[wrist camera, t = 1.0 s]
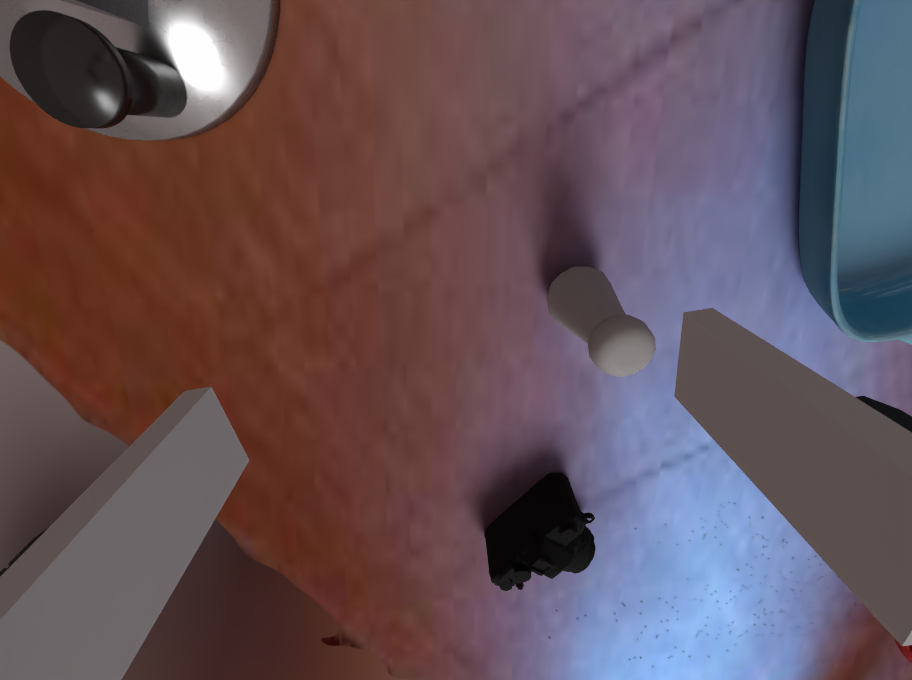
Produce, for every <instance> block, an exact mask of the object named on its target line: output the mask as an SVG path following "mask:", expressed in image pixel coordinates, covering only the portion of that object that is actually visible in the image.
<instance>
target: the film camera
mask: <svg viewBox="0 0 912 680" xmlns="http://www.w3.org/2000/svg"><path fill="white" fill-rule="evenodd" d="M587 518H591V519H592V520H590V521H589V520H587ZM594 519H595V518H594V515H593V514H592V513H582V512H581V510H580V508H579V506H578V504H577V501H576V499H575V496H574V493H573V491H572V488H571V485H570V482H569V480H568V478H567V477H566V476H565V475H563V474H561V473H550V474H548V475H547V476H546V477H544V478H543V479H542V480H540V481H539V482H538V483H537V484H535V485H534V486H533V487H532V488H531V489H530V490H529V491H527V492H526V493H525V494H524V495H523V496H522V497H520V498H519V499H518V500H517V501H516V502H515V503H513V504H512V505H511V506H510V507H509V508H508V509H507V510H506V511H504V512H503V513H502V514H501V515H500V516H499V517H498V518H497V519H496V520H495V521H494V522H493V523H491V524H490V525H489V526H488V528H487V529H486V530H485V539H486V547H487V555H488V564H489V574H490V577H491V581H492V583H494V584H495V585H497V586H500V589H501V590H504V591H508V590H510V589H512V586H514V585H515V584H516V587H518V589H519V590H522V589H523V586H524V585H523V582H526V581H528V580H529V579H530V578H531V572H534V573H536V574H538V575H540V576H542V575H545V576H547V577H549V578H552V579H553V578H554V577H555V576H557V575H558V574H559V573H561V572H562V571H566V572H572V573H580V572H581V571H583V570H585V569H586V568H587V567H588V566H589V564H590V562H591V561H592V560H593V557H594V553H595V544H594V536H593V534H592V533H591V531H590V530H589V529H588V528H587V527H586V526H585V525H586V524H587V523H591V522H592V521H593V520H594Z"/></svg>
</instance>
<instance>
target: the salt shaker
mask: <svg viewBox="0 0 912 680" xmlns="http://www.w3.org/2000/svg"><path fill="white" fill-rule="evenodd" d="M547 303H548V309H549V313H550V314H551V315H552V316H553V318H554V319H555V320H556V321H557V322H558V323H559V324H560V325H562V326H563V327H565V328H566V329H568V330H569V331H570V332H572V333H573V334H575V335H576V336H577V337H579V338H580V339H582V340H583V341H585V342H586V343H587V344H588V349H589V356H590V358H591V359H592V361H593V362H594V363H595V364H596V366H597V367H598V368H599V369H600V370H601V371H603V372H604V373H606V374H609V375H611V376H614V377H619V376H629V375H631V374H633V373H636V372H638V371H640V370H641V369H642V368H643V367H645V366H646V365H647V364H648V363H649V362H650V360H651V358H652V356H653V354H654V352H655V350H656V348H655V337H654V336H653V334H652V332H651V331H650V330H649V328H648V327H647V325H646V324H645V323H644V322H643V321H641V320H639V319H637V318H635V317H632V316H630V315H626V314H625V312H624V310H623V308H622V306H621V304H620V302H619V300H618V298H617V296H616V294H615V292H614V290H613V288H612V286H611V283H610V282H609V280H608V279H607V278H606V276H605V275H604V273H603V272H601V271H598V270H596V269H594V268H591V267H588V266H581V267H572V268H569V269H568V270H566V271H564V272H562V273H561V274H560V275H559V276H558V277H557V278H556V279H555V280H553V281H552V283H551V285H550V288H549V292H548V295H547Z"/></svg>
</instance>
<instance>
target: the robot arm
mask: <svg viewBox="0 0 912 680" xmlns="http://www.w3.org/2000/svg"><path fill="white" fill-rule="evenodd" d="M675 397H676V399H677V400H678V401H679V402H680V403H681V404H682V405H683V406H684V407H685V408H686V410H687V411H688V412H689V413H690V414H691V415H692V416H693V417H694V418H695V419H696V421H697V422H698V423H699V424H700V425H701V426H702V427H703V428H704V429H705V430H706V432H707V433H708V434H709V435H710V436H711V437H712V438H713V439H714V440H715V441H716V443H717V444H718V445H719V446H720V447H721V448H722V449H723V450H724V451H725V452H726V454H727V455H728V456H729V457H730V458H731V459H732V460H733V461H734V462H735V463H736V465H737V466H738V467H739V468H740V469H741V470H742V471H743V472H744V473H745V474H746V475H747V477H748V478H749V479H750V480H751V481H752V482H753V483H754V484H755V485H756V486H757V488H758V489H759V490H760V491H761V492H762V493H763V494H764V495H765V496H766V497H767V499H768V500H769V501H770V502H771V503H772V504H773V505H774V506H775V507H776V508H777V510H778V511H779V512H780V513H781V514H782V515H783V516H784V517H785V518H786V519H787V521H788V522H789V523H790V524H791V525H792V526H793V527H794V528H795V529H796V530H797V532H798V533H799V534H800V535H801V536H802V537H803V538H804V539H805V540H806V541H807V543H808V544H809V545H810V546H811V547H812V548H813V549H814V550H815V551H816V552H817V553H818V555H819V556H820V557H821V558H822V559H823V560H824V561H825V562H826V563H827V564H828V566H829V567H830V568H831V569H832V570H833V571H834V572H835V573H836V574H837V575H838V577H839V578H840V579H841V580H842V581H843V582H844V583H845V584H846V585H847V586H848V588H849V589H850V590H851V591H852V592H853V593H854V594H855V595H856V596H857V597H858V599H859V600H860V601H861V602H862V603H863V604H864V605H865V606H866V607H867V608H868V610H869V611H870V612H871V613H872V614H873V615H874V616H875V617H876V618H877V619H878V621H879V622H880V623H881V624H882V625H883V626H884V627H885V628H886V629H887V630H888V631H889V633H890V634H891V635H892V636H893V637H894V638H895V639H896V640H897V641H898V642H899V644H900V645H901V646H908V645H912V416H910V415H908V414H906V413H905V412H903V411H901V410H899V409H897V408H894V407H891V406H889V405H886V404H884V403H881V402H878V401H876V400H873V399H870V398H868V397H865V396H859V397H854V396H852V395H851V394H849V393H848V392H846V391H844V390H843V389H841V388H840V387H838V386H836V385H835V384H833V383H832V382H830V381H828V380H827V379H825V378H824V377H822V376H820V375H819V374H817V373H816V372H814V371H812V370H811V369H809V368H808V367H806V366H804V365H803V364H801V363H800V362H798V361H796V360H795V359H793V358H792V357H790V356H788V355H787V354H785V353H784V352H782V351H780V350H779V349H777V348H776V347H774V346H772V345H771V344H769V343H768V342H766V341H764V340H763V339H761V338H760V337H758V336H756V335H755V334H753V333H752V332H750V331H748V330H747V329H745V328H744V327H742V326H740V325H739V324H737V323H736V322H734V321H732V320H731V319H729V318H728V317H726V316H724V315H723V314H721V313H720V312H718V311H716V310H715V309H713V308H709V309H703V310H697V311H690V312H684V314H683V323H682V332H681V341H680V350H679V359H678V369H677V378H676V387H675ZM248 462H249V459H248V457H247V455H246V453H245V451H244V449H243V447H242V445H241V443H240V441H239V439H238V437H237V436H236V434H235V432H234V430H233V428H232V426H231V424H230V422H229V420H228V418H227V416H226V414H225V412H224V410H223V408H222V407H221V405H220V403H219V401H218V399H217V397H216V395H215V393H214V391H213V389H212V387H207V388H200V389H194V390H188V391H184V392H183V393H182V394H181V395H180V396H179V397H178V398H177V399H176V400H175V401H174V402H173V403H172V404H171V405H170V406H169V407H168V408H167V409H166V410H165V411H164V412H163V413H162V414H161V415H160V416H159V417H158V419H157V420H156V421H155V422H154V423H153V424H152V425H151V426H150V427H149V428H148V429H147V430H146V431H145V432H144V433H143V434H142V435H141V436H140V437H139V438H138V439H137V440H136V441H135V442H134V443H133V444H132V445H131V446H130V447H129V448H128V449H127V450H126V451H125V452H124V453H123V454H122V455H121V456H120V457H119V458H118V459H117V460H116V461H115V462H114V463H113V464H112V465H111V466H110V467H109V468H108V469H107V470H106V471H105V472H104V473H103V474H102V475H101V476H100V477H99V478H98V479H97V480H96V481H95V482H94V483H93V484H92V485H91V486H90V487H89V488H88V489H87V490H86V491H85V492H84V493H83V494H82V495H81V496H80V497H79V498H78V499H77V500H76V501H75V502H74V503H73V504H72V505H71V506H70V507H69V508H68V509H67V510H66V511H65V512H64V513H63V514H62V515H61V516H60V517H59V518H58V519H57V520H56V521H55V522H54V523H53V524H52V525H51V526H50V527H49V528H47V529H46V530H44V531H43V532H42V533H40V534H39V535H38V536H36V537H35V538H34V539H33V540H32V541H31V542H30V543H29V544H28V545H27V546H26V547H25V548H24V549H23V550H22V551H21V552H20V553H19V554H18V555H17V556H16V557H15V558H14V559H13V560H12V561H11V562H10V563H9V567H8V568H5V569H3V570H2V571H1V572H0V680H121V679H122V678H123V676H124V674H125V673H126V671H127V669H128V668H129V666H130V664H131V662H132V661H133V659H134V657H135V656H136V654H137V652H138V650H139V648H140V647H141V645H142V643H143V642H144V640H145V638H146V637H147V635H148V633H149V631H150V629H151V628H152V626H153V625H154V623H155V621H156V619H157V618H158V616H159V614H160V613H161V611H162V609H163V607H164V606H165V604H166V602H167V601H168V599H169V597H170V595H171V594H172V592H173V590H174V589H175V587H176V585H177V583H178V582H179V580H180V578H181V577H182V575H183V573H184V571H185V570H186V568H187V566H188V564H189V563H190V561H191V559H192V557H193V556H194V554H195V552H196V551H197V549H198V547H199V546H200V544H201V542H202V540H203V539H204V537H205V535H206V534H207V532H208V530H209V529H210V527H211V525H212V523H213V521H214V520H215V518H216V516H217V515H218V513H219V511H220V510H221V508H222V506H223V504H224V503H225V501H226V499H227V498H228V496H229V494H230V492H231V491H232V489H233V487H234V486H235V484H236V482H237V480H238V479H239V477H240V475H241V474H242V472H243V470H244V468H245V467H246V465H247V463H248Z"/></svg>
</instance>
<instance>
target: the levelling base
mask: <svg viewBox="0 0 912 680" xmlns="http://www.w3.org/2000/svg"><path fill="white" fill-rule="evenodd" d="M279 16H280V0H0V77H2V78H3V79H4V80H5V81H6V82H8V83H9V84H10V85H11V86H12V87H13V88H15V89H16V90H18V91H19V92H20V93H22V94H23V95H25V96H26V97H27V98H29V99H30V100H32V101H33V102H35V103H36V104H37V105H38V106H39V107H40V108H42V109H43V110H44V111H45V112H46V113H48V114H49V115H51V116H52V117H54V118H55V119H57V120H59V121H61V122H63V123H65V124H68V125H71V126H74V127H79V128H85V129H88V130H91V131H94V132H97V133H100V134H103V135H108V136H113V137H118V138H123V139H132V140H173V139H183V138H187V137H192V136H196V135H199V134H202V133H204V132H207V131H209V130H212V129H214V128H216V127H217V126H219V125H221V124H222V123H224V122H226V121H227V120H229V119H230V118H231V117H232V116H233V115H235V114H236V113H237V112H238V111H239V110H240V109H241V108H242V107H243V106H244V105H245V104H246V103H247V101H248V100H249V99H250V98H251V96H252V95H253V94H254V93H255V91H256V89H257V87H258V86H259V84H260V82H261V81H262V79H263V77H264V75H265V73H266V70H267V68H268V65H269V62H270V60H271V57H272V54H273V50H274V46H275V42H276V38H277V33H278V25H279Z"/></svg>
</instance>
